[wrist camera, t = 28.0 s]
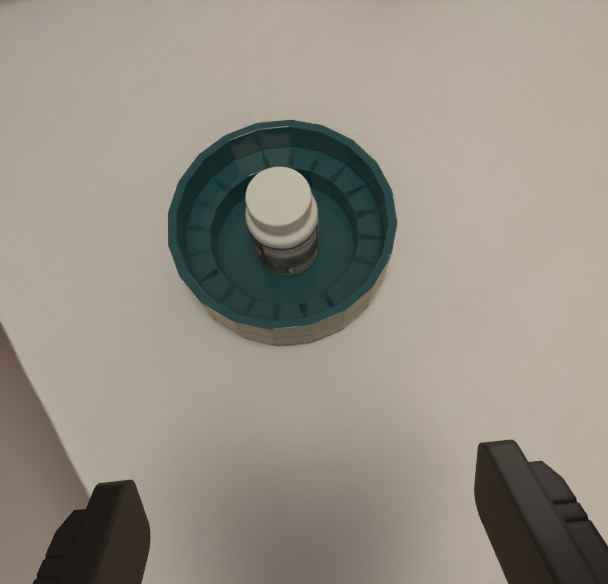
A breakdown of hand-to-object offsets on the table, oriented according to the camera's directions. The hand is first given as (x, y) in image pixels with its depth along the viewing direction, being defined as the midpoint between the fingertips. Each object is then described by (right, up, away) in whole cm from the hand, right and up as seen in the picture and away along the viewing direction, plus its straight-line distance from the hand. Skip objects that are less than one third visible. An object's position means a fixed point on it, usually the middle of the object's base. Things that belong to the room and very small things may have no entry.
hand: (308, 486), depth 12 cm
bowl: (-1, +8, +27) cm, 28 cm away
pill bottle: (-1, +8, +27) cm, 28 cm away
